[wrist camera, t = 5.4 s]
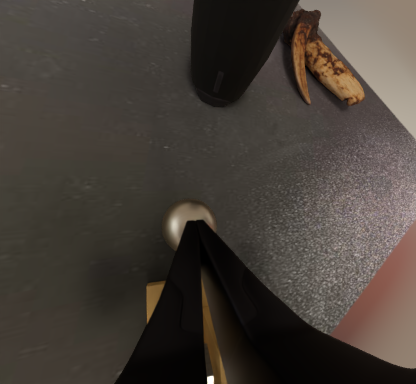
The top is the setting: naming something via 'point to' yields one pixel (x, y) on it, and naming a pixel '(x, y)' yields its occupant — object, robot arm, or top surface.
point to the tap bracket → (209, 333)
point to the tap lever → (173, 232)
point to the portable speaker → (233, 44)
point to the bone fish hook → (318, 59)
